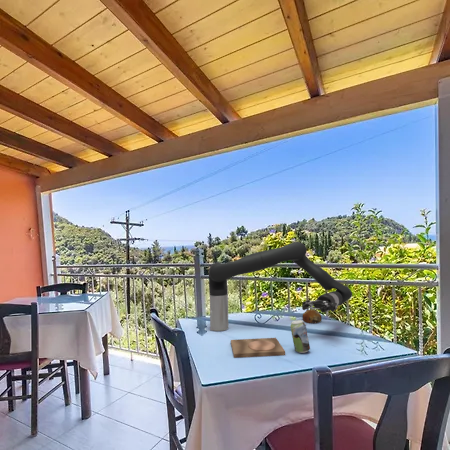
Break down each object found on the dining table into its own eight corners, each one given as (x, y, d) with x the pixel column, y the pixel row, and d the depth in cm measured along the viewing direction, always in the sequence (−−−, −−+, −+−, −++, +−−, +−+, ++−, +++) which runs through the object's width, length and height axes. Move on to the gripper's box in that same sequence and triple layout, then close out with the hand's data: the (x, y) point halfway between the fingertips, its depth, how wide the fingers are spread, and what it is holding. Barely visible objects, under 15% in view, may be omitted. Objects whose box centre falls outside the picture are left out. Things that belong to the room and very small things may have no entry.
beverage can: (310, 354, 118) (309, 323, 119) (291, 354, 120) (290, 323, 120) (309, 348, 125) (308, 319, 125) (291, 348, 126) (290, 318, 126)
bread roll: (322, 327, 165) (321, 311, 169) (321, 323, 157) (321, 307, 160) (303, 325, 169) (303, 310, 172) (301, 322, 160) (301, 306, 164)
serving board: (234, 357, 118) (233, 353, 118) (230, 343, 134) (230, 339, 134) (285, 355, 119) (285, 350, 119) (276, 341, 135) (275, 337, 135)
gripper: (313, 292, 148) (296, 298, 136) (342, 295, 139) (328, 301, 127) (314, 307, 148) (297, 315, 136) (343, 311, 138) (329, 320, 126)
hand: (312, 308), depth 131 cm, fingers open, 8 cm apart
